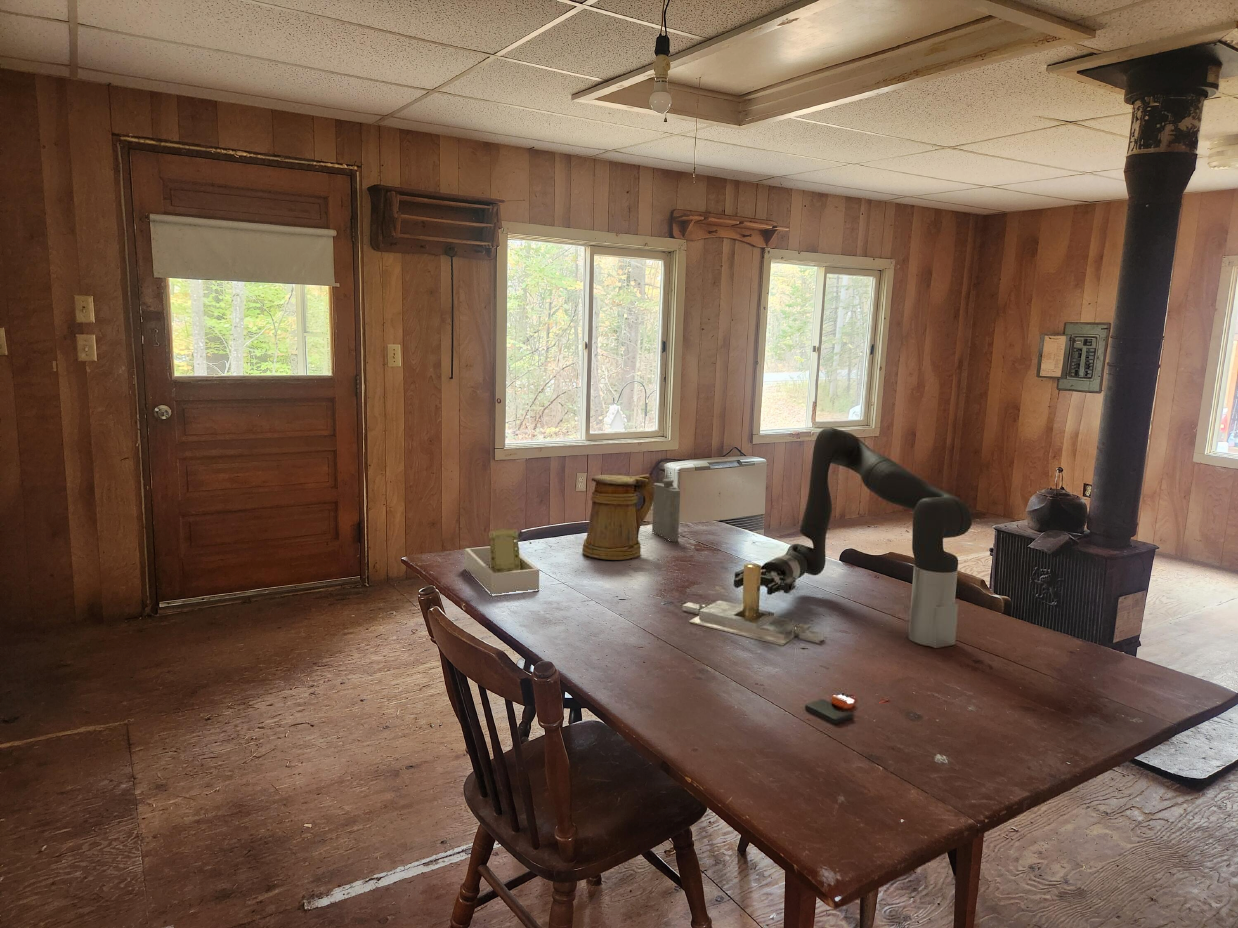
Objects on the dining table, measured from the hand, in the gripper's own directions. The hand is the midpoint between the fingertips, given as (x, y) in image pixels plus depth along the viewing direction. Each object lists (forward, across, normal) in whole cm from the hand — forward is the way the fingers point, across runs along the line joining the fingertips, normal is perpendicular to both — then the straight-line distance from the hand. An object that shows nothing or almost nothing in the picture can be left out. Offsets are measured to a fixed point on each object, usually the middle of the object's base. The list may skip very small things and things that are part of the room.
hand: (751, 587), depth 191 cm
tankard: (-34, -62, +9) cm, 72 cm away
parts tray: (+11, -71, +9) cm, 72 cm away
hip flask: (-63, -63, +9) cm, 89 cm away
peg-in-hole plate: (0, 0, +9) cm, 9 cm away
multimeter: (+28, +33, +10) cm, 45 cm away
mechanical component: (+10, -69, +9) cm, 70 cm away
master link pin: (0, 0, +9) cm, 9 cm away
